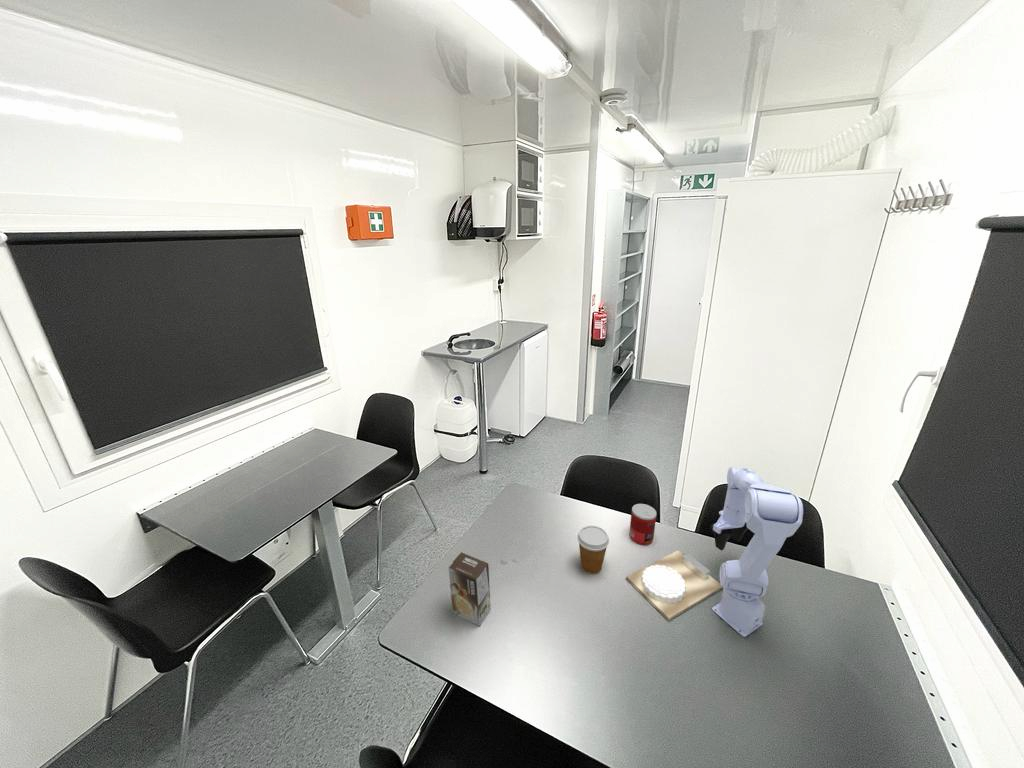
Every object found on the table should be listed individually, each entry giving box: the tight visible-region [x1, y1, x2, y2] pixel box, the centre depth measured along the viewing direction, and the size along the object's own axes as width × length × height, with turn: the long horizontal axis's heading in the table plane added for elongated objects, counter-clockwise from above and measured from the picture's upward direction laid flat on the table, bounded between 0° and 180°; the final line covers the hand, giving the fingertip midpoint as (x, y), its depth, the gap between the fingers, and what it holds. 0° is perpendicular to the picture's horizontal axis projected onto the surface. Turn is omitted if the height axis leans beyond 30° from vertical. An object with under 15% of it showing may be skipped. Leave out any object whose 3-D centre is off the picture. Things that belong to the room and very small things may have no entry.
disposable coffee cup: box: [576, 525, 610, 575], centre depth 122 cm, size 10×10×12 cm
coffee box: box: [448, 552, 492, 627], centre depth 107 cm, size 9×6×16 cm
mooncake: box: [641, 565, 686, 604], centre depth 115 cm, size 12×12×4 cm
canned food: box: [628, 503, 657, 546], centre depth 134 cm, size 8×8×11 cm
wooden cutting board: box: [625, 550, 724, 622], centre depth 117 cm, size 16×22×3 cm
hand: (727, 543), depth 119 cm, fingers open, 7 cm apart
